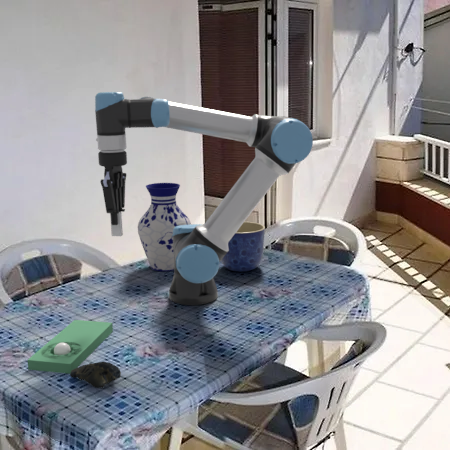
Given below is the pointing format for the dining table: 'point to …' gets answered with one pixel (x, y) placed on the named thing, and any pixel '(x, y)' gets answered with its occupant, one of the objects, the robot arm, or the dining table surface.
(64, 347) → the ball
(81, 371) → the stone
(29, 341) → the dining table surface
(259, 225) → the planter
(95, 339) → the green rectangular board
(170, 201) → the vase
